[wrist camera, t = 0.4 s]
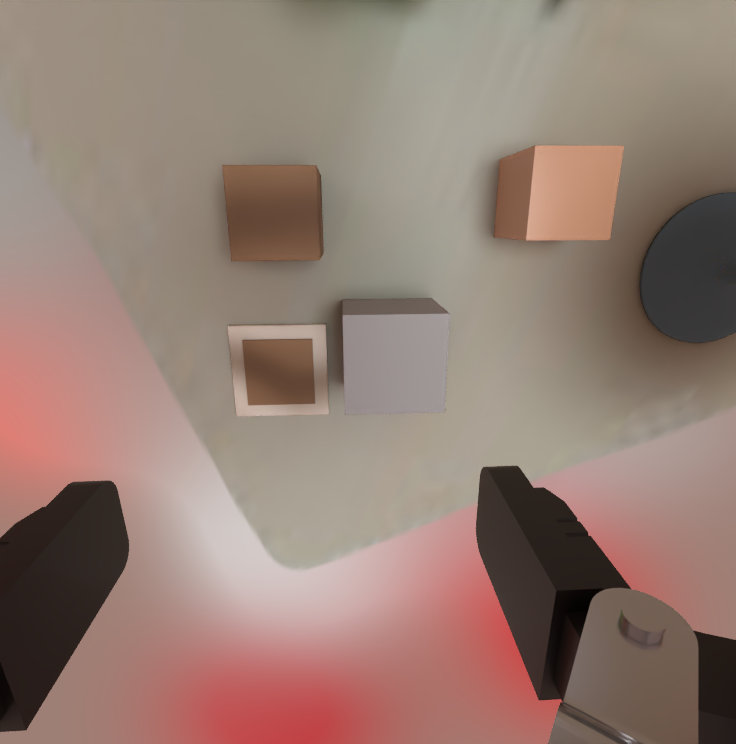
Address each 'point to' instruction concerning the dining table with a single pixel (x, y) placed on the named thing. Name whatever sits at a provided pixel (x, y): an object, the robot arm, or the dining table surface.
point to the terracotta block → (558, 193)
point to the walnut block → (274, 212)
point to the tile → (279, 369)
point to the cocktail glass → (694, 272)
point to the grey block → (394, 356)
